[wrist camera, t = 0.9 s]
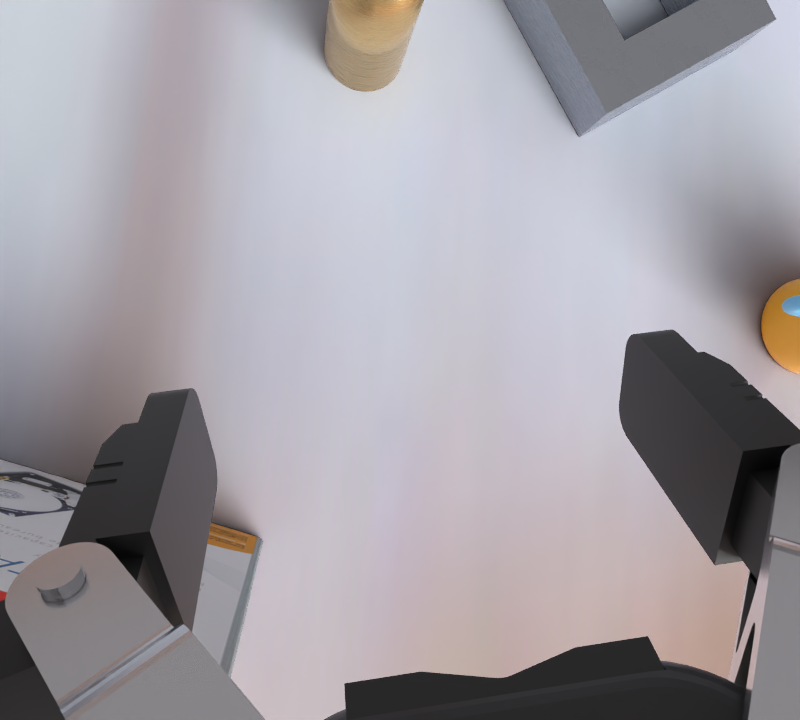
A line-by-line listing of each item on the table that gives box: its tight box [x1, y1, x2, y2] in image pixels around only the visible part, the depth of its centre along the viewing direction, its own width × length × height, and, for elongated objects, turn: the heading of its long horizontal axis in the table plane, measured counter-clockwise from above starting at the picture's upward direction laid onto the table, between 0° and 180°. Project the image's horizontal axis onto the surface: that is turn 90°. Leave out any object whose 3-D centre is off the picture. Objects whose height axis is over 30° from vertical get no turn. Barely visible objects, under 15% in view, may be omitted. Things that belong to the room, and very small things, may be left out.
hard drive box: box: [0, 459, 263, 677], centre depth 25 cm, size 16×8×20 cm, turn 71°
